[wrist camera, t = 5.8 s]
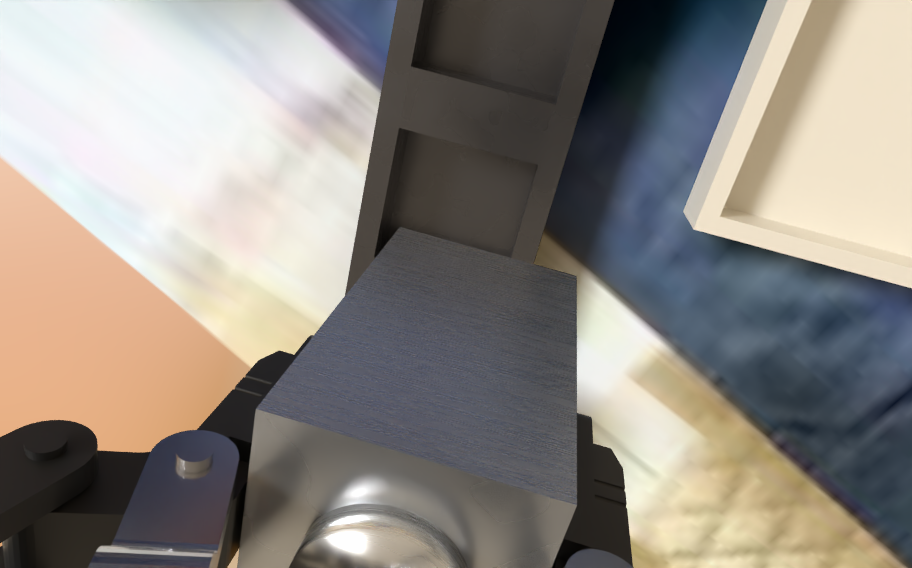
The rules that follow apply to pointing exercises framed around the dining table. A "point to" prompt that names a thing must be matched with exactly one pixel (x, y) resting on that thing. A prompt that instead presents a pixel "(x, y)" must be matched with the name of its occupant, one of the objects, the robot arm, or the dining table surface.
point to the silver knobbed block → (423, 420)
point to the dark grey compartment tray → (476, 121)
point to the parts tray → (818, 139)
